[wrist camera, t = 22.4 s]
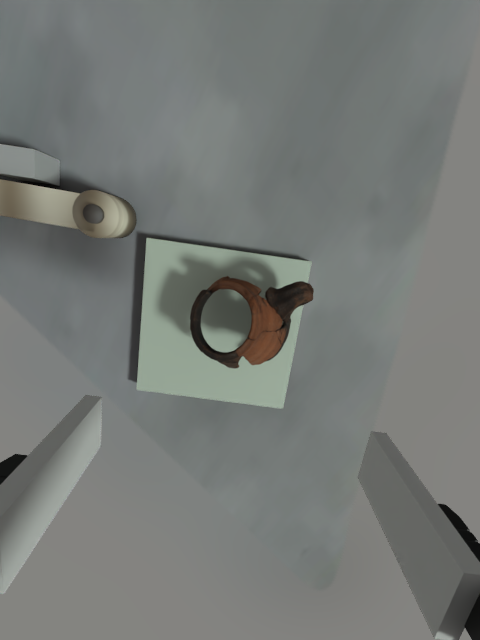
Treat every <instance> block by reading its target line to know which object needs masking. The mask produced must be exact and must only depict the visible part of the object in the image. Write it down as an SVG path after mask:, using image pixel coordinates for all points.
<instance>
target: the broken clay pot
mask: <svg viewBox="0 0 480 640" xmlns="http://www.w3.org/2000/svg"><path fill="white" fill-rule="evenodd" d="M219 289H222V290H223V289H230V290H234V291H236V292H238V293H239V294H241V295H242V296H243V297H244V298H245V300H246V301H247V302H248V304H249V307H250V311H251V317H252V318H251V328H250V332H249V334H248V337H247V338H246V340H245V341H244V343H243V344H242V345H241V346H240V347H238V348H237V349H236V350H234V351H231V352H219V351H216V350H214V349H213V348H211V347H210V346H209V345H208V343H207V342H206V340H205V339H204V337H203V334H202V330H201V315H202V311H203V308H204V305H205V303H206V302H207V300H208V299H209V298H210V296H211V295H212V294H213V293H214V292H215V291H217V290H219ZM313 292H314V290H313V288H312V286H311V285H310V284H308V283H305V282H303V281H298V282H294V283H292V284H289V285H286V286H284V287H282V288H279V289H276V288H274V287H269V288H268V290H267V291H266V293H265V297H266V300H265V299H264V298H262V297H261V296H259V294H260V293H261V289H260V288H259V287H257V286H255V285H253V284H251V283H249V282H247V281H244V280H240V279H236V278H230V277H229V276H226V277H222V278H220V279H219V280H217V281H216V282H214V283H213V284H212V285H211V286H210V287H209V288H208V289H207V290H202V291H201V292H200V293H199V295H198V296H197V297H196V300H195V302H194V303H193V306H192V309H191V314H190V320H191V321H190V330H191V334H192V338H193V340H194V342H195V344H196V346H197V347H198V348H199V350H200V351H201V352H202V353H204V354H205V355H206V356H208V357H209V358H211V359H213V360H215V361H218V362H219V363H221V364H223V365H225V366H227V367H228V368H234V369H236V368H239V364H238V363H239V360H240V359H241V357H242V356H244V357H245V359H246V360H247V361H248V362H249V363H250V364H251V365H260V364H262V363H264V362H265V361H269V360H271V359H272V358H274V357H275V356H276V355H277V354H278V353H279V352H280V350H281V349H282V347H283V345H284V343H285V342H286V340H287V337H288V334H289V330H290V324H291V318H290V316H291V314H292V313H293V311H294V310H295V309H296V308H297V307H299V306H302V305H304V304H306V303H308V302H310V301H312V300H313ZM282 323H283V325H282Z"/></svg>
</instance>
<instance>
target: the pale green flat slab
mask: <svg viewBox="0 0 480 640" xmlns="http://www.w3.org/2000/svg"><path fill="white" fill-rule="evenodd" d="M0 175H3V176H7V177H11V178H14V179H18V180H23V181H30V182H37V183H43V184H50V185H57V186H60V160H58V159H56V158H53V157H51V156H49V155H46V154H44V153H42V152H39V151H37V150H35V149H29V148H23V147H16V146H10V145H3V144H0ZM311 264H312V262H311V261H306V260H299V259H292V258H285V257H278V256H272V255H265V254H258V253H251V252H244V251H237V250H230V249H224V248H217V247H210V246H203V245H196V244H189V243H182V242H176V241H169V240H162V239H155V238H147V239H146V254H145V269H144V285H143V300H142V315H141V330H140V345H139V361H138V376H137V390H142V391H150V392H157V393H165V394H173V395H181V396H188V397H196V398H204V399H212V400H219V401H227V402H235V403H243V404H250V405H258V406H266V407H273V408H281V409H283V406H284V401H285V396H286V391H287V386H288V380H289V375H290V370H291V365H292V360H293V355H294V350H295V345H296V340H297V335H298V330H299V325H300V319H301V314H302V309H303V305H302V306H299V307H297V308H296V309H295V310H294V311H293V313H292V314H291V316H290V318H291V324H290V330H289V334H288V337H287V340H286V342H285V343H284V345H283V347H282V349H281V350H280V352H279V353H278V354H277V355H276V356H275V357H274V358H272V359H271V360H269V361H265V362H264V363H262V364H260V365H251V364H250V363H249V362H248V361H247V360H246V359H245V357H244V356H242V357H241V359H240V360H239V363H238V364H239V368H236V369H234V368H228V367H227V366H225V365H223V364H221V363H219V362H218V361H215V360H213V359H211V358H209V357H208V356H206V355H205V354H204V353H202V352H201V351H200V350H199V348H198V347H197V346H196V344H195V342H194V340H193V338H192V334H191V330H190V321H191V320H190V314H191V309H192V306H193V303H194V302H195V300H196V297H197V296H198V295H199V293H200V292H201V291H202V290H207V289H208V288H209V287H210V286H211V285H212V284H213V283H214V282H216V281H217V280H219V279H220V278H222V277H226V276H229V277H230V278H236V279H240V280H244V281H247V282H249V283H251V284H253V285H255V286H257V287H259V288H260V289H261V293H260V294H259V296H261V297H262V298H264V299H265V300H266V297H265V293H266V291H267V290H268V288H269V287H274V288H276V289H279V288H282V287H284V286H286V285H289V284H292V283H294V282H298V281H303V282H305V283H308V279H309V274H310V269H311ZM251 318H252V317H251V311H250V307H249V304H248V302H247V301H246V300H245V298H244V297H243V296H242V295H241V294H239V293H238V292H236V291H234V290H230V289H223V290H222V289H219V290H217V291H215V292H214V293H213V294H212V295H211V296H210V298H209V299H208V300H207V302H206V303H205V305H204V308H203V311H202V315H201V330H202V334H203V337H204V339H205V340H206V342H207V343H208V345H209V346H210V347H211V348H213V349H214V350H216V351H219V352H231V351H234V350H236V349H237V348H238V347H240V346H241V345H242V344H243V343H244V341H245V340H246V338H247V337H248V334H249V332H250V328H251ZM282 325H283V323H282Z"/></svg>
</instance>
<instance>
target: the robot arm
mask: <svg viewBox="0 0 480 640" xmlns="http://www.w3.org/2000/svg"><path fill="white" fill-rule="evenodd" d="M101 416H102V397H97V396H90V395H85V396H84V397H83V399H82V400H81V401H80V402H79V403H78V404H77V405H76V406H75V407H74V408H73V409H72V410H71V411H70V412H69V413H68V414H67V415H66V416H65V417H64V418H63V420H62V421H61V422H60V423H59V424H58V425H57V426H56V427H55V428H54V429H53V430H52V431H51V432H50V433H49V434H48V435H47V436H46V437H45V438H44V439H43V441H42V442H41V443H40V444H39V445H38V446H37V447H36V448H35V449H34V450H33V451H32V452H31V453H30V454H29V455H28V456H27V455H18V454H15V455H13V456H12V457H9V458H8V459H6V460H4V461H3V462H1V463H0V593H1V594H4V593H5V592H6V590H7V588H8V587H9V585H10V584H11V582H12V581H13V579H14V578H15V576H16V575H17V573H18V572H19V570H20V569H21V567H22V566H23V564H24V563H25V561H26V560H27V558H28V556H29V555H30V553H31V552H32V550H33V549H34V547H35V546H36V544H37V543H38V541H39V540H40V538H41V536H42V535H43V534H44V532H45V530H46V529H47V527H48V526H49V524H50V523H51V521H52V520H53V518H54V517H55V515H56V514H57V512H58V511H59V509H60V507H61V506H62V504H63V503H64V501H65V500H66V498H67V497H68V495H69V494H70V492H71V491H72V489H73V488H74V486H75V485H76V483H77V482H78V480H79V479H80V477H81V476H82V474H83V472H84V471H85V469H86V468H87V466H88V465H89V463H90V462H91V460H92V459H93V457H94V456H95V454H96V453H97V451H98V450H99V448H100V446H101V419H102V417H101ZM358 479H359V481H360V483H361V485H362V488H363V490H364V492H365V494H366V496H367V498H368V500H369V502H370V504H371V506H372V509H373V511H374V513H375V515H376V517H377V519H378V521H379V523H380V525H381V527H382V530H383V532H384V534H385V536H386V538H387V540H388V542H389V544H390V546H391V549H392V551H393V553H394V555H395V557H396V559H397V561H398V563H399V565H400V567H401V569H402V572H403V574H404V576H405V578H406V580H407V582H408V584H409V586H410V589H411V591H412V593H413V595H414V597H415V599H416V601H417V603H418V605H419V607H420V610H421V612H422V614H423V616H424V618H425V620H426V622H427V624H428V626H429V628H430V631H431V633H432V635H433V637H434V639H443V640H459V638H460V636H461V634H462V632H463V630H464V628H466V630H467V632H468V633H469V635H470V637H471V639H472V640H480V544H479V543H478V540H477V539H476V538H475V536H474V535H473V534H472V533H471V532H470V531H469V529H468V527H467V526H466V525H465V523H464V522H463V521H462V520H461V518H460V517H459V516H458V515H457V514H456V513H454V512H453V511H452V510H451V509H450V508H449V507H448V506H446V505H444V504H437V503H436V501H435V500H434V498H433V497H432V496H431V494H430V493H429V492H428V490H427V489H426V487H425V486H424V485H423V483H422V482H421V481H420V479H419V478H418V476H417V475H416V474H415V472H414V471H413V469H412V468H411V467H410V465H409V464H408V462H407V461H406V460H405V458H404V457H403V456H402V454H401V453H400V451H399V450H398V449H397V447H396V446H395V444H394V443H393V442H392V440H391V439H390V438H389V436H388V435H387V433H381V432H373V431H371V434H370V437H369V440H368V444H367V447H366V451H365V454H364V457H363V461H362V464H361V468H360V471H359V474H358Z"/></svg>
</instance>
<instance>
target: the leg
mask: <svg viewBox="0 0 480 640" xmlns="http://www.w3.org/2000/svg"><path fill="white" fill-rule="evenodd" d="M0 216H6V217H12V218H18V219H23V220H29V221H35V222H41V223H46V224H52V225H58V226H64V227H69V228H75V229H80V230H81V231H82V232H83V233H84V234H86V235H88V236H90V237H94V238H123V237H126V236H128V235H129V234H131V233H132V231H133V230H134V228H135V226H136V213H135V211H134V209H133V207H132V206H131V205H130V204H129V203H128V202H127V201H126V200H124V199H121V198H119V197H116V196H113V195H110V194H107V193H104V192H101V191H97V190H88V191H85V192H83V193H81V194H80V193H75V192H69V191H63V190H58V189H52V188H47V187H41V186H35V185H30V184H24V183H18V182H13V181H7V180H2V179H0Z"/></svg>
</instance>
